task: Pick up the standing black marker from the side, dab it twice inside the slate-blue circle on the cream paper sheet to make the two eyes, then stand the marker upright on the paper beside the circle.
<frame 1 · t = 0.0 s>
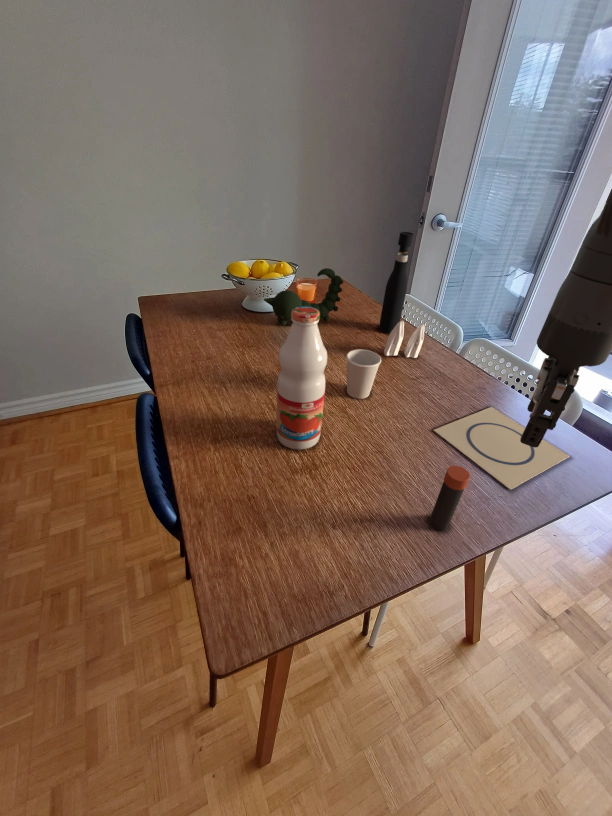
hand: (531, 427, 55), 22 cm above the table, tool pointing down, fingers open, 8 cm apart
toy figurine: (301, 323, 132), on the table
dixie cup: (358, 393, 100), on the table
marker: (438, 523, 68), on the table
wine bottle: (388, 330, 132), on the table
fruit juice: (298, 436, 85), on the table
paper: (499, 443, 87), on the table
shaker set: (400, 357, 117), on the table
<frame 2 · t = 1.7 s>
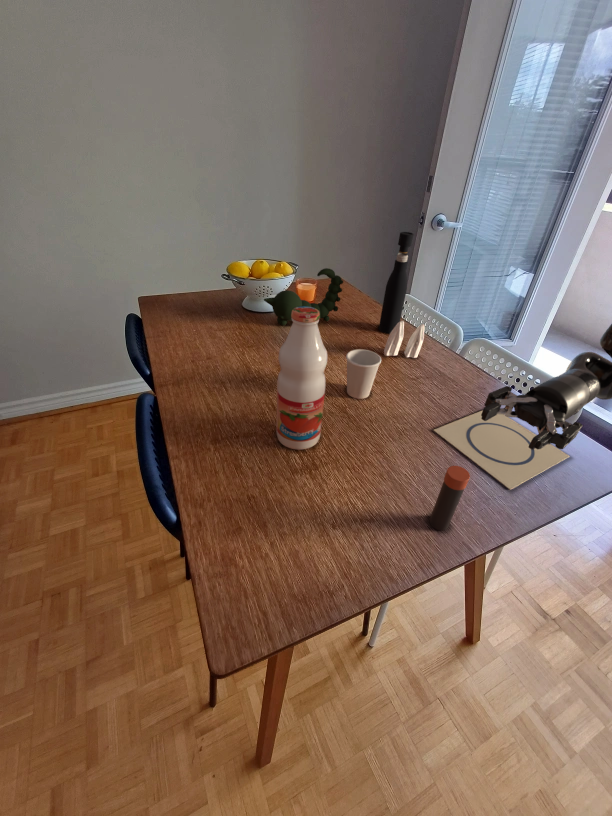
hand: (507, 429, 64), 16 cm above the table, tool horizontal, fingers open, 8 cm apart
nothing on the table moved.
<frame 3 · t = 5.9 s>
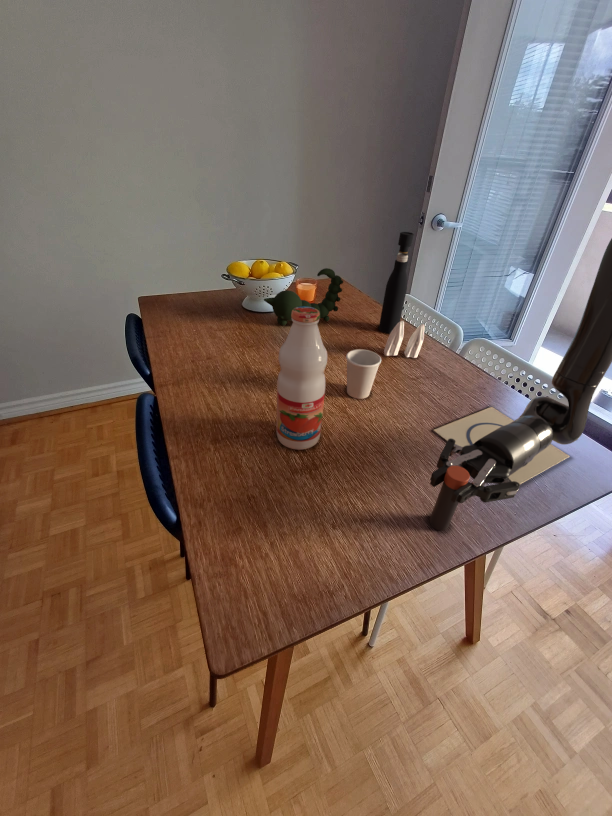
hand: (443, 489, 61), 10 cm above the table, tool horizontal, fingers closed on marker, 3 cm apart
marker: (438, 523, 68), on the table, touching gripper
everything else where it was.
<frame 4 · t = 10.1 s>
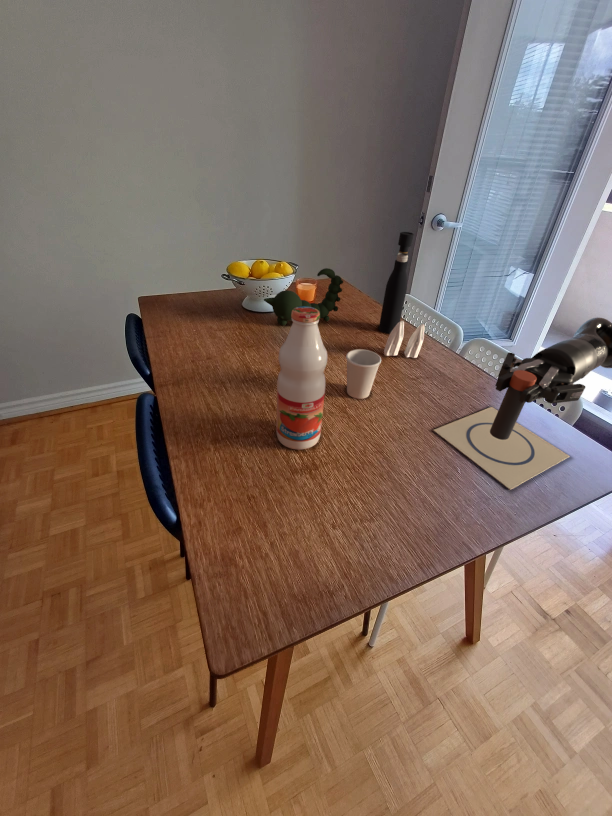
hand: (511, 391, 62), 22 cm above the table, tool horizontal, fingers closed on marker, 3 cm apart
marker: (499, 434, 70), point 12 cm above the table, touching gripper
everything else where it was.
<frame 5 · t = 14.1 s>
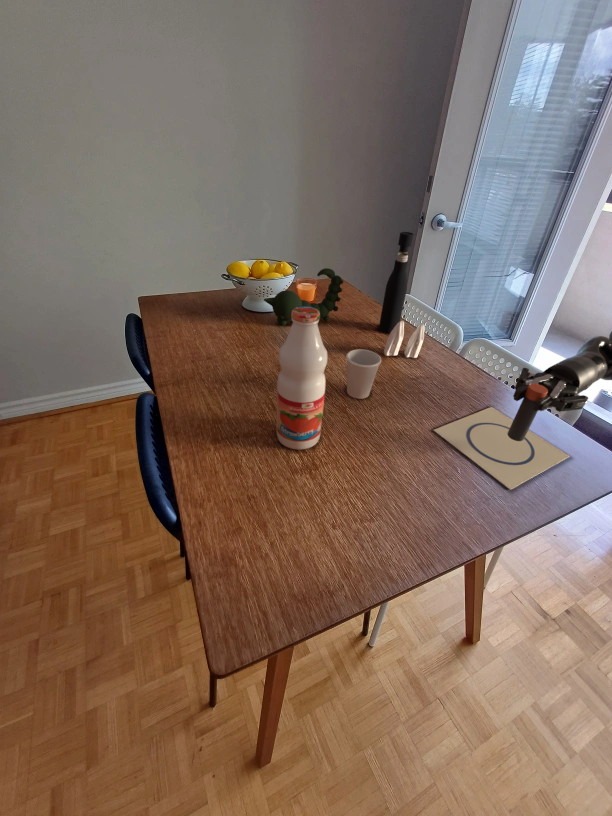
hand: (526, 401, 75), 14 cm above the table, tool horizontal, fingers closed on marker, 3 cm apart
marker: (515, 436, 83), point 4 cm above the table, touching gripper
everything else where it was.
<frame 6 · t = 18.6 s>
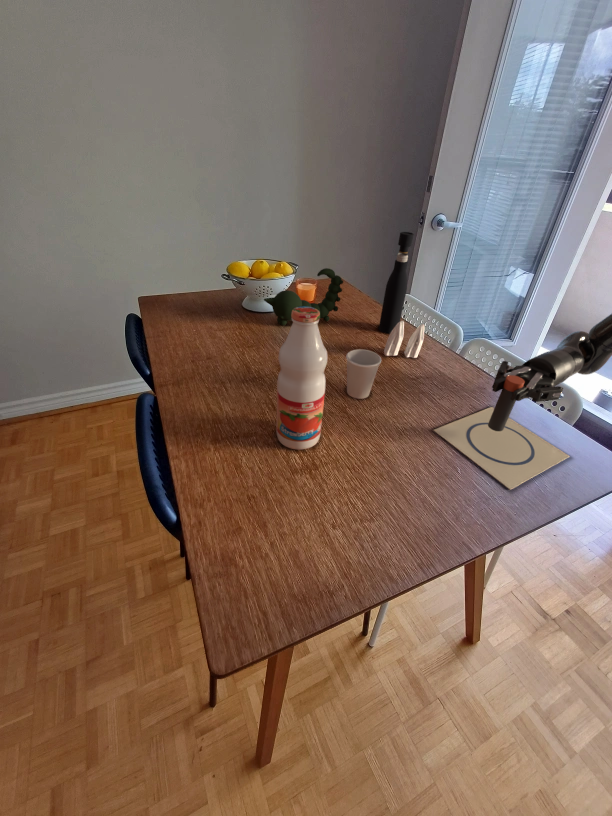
hand: (504, 392, 79), 13 cm above the table, tool horizontal, fingers closed on marker, 3 cm apart
marker: (495, 426, 86), point 3 cm above the table, touching gripper
everything else where it was.
when the fingers open (10 cm above the table, at t = 22.3 s): marker stays where it is, resting on paper.
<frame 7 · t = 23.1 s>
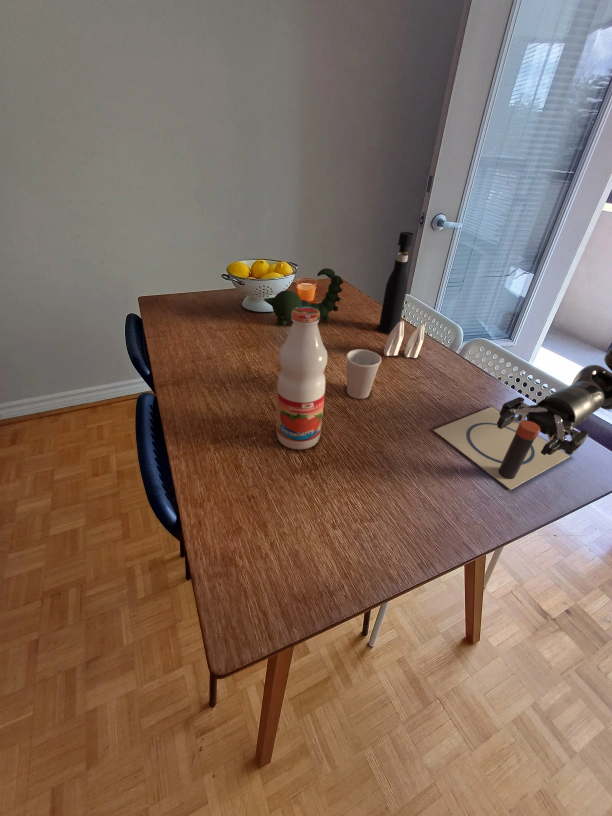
hand: (521, 436, 71), 11 cm above the table, tool horizontal, fingers open, 8 cm apart
marker: (506, 473, 79), resting on paper
everything else where it was.
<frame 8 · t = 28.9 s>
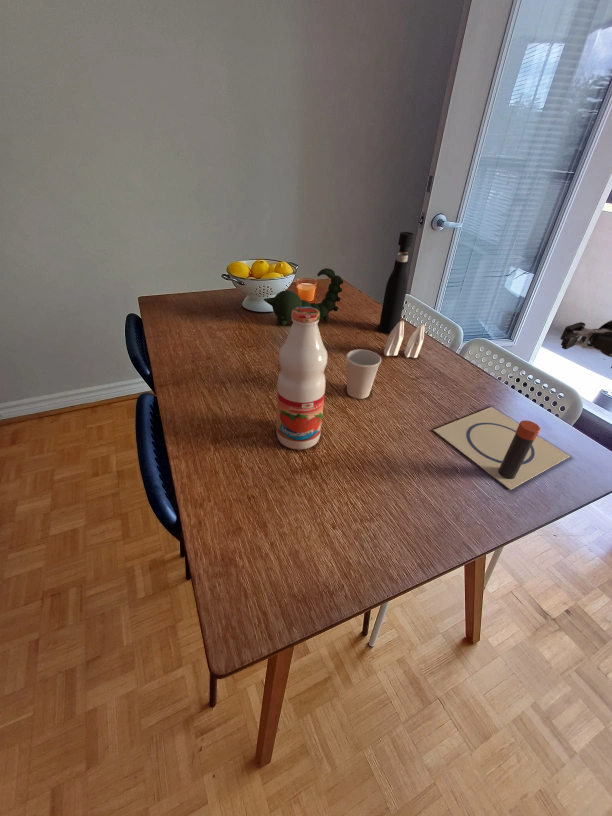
hand: (589, 353, 70), 24 cm above the table, tool horizontal, fingers open, 8 cm apart
nothing on the table moved.
at the end: marker 0.4 cm from the target spot on the paper, point 0.2 cm above the paper's base; marker tilted 0°; the gripper is holding nothing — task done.
